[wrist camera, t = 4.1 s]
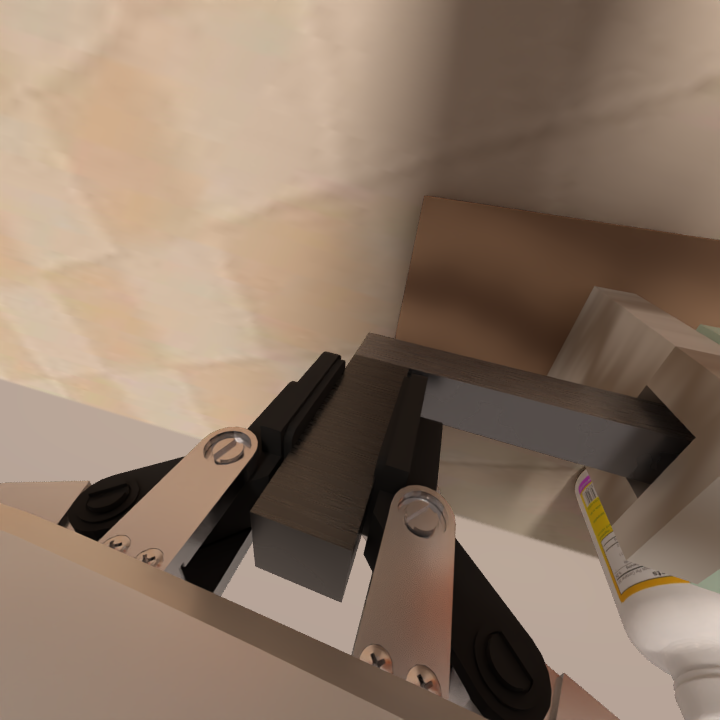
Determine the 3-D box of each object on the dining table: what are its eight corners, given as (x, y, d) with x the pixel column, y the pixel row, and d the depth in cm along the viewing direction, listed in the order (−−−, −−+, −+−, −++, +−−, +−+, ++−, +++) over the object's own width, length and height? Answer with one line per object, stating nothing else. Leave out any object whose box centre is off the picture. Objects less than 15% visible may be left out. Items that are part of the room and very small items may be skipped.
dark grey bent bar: (369, 332, 13) (249, 511, 6) (846, 448, 10) (1855, 1132, 3) (363, 372, 14) (255, 566, 7) (793, 488, 11) (1422, 1058, 4)
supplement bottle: (676, 519, 23) (865, 811, 12) (571, 511, 25) (651, 750, 15) (691, 450, 20) (951, 748, 9) (573, 450, 23) (671, 685, 12)
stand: (426, 195, 18) (369, 203, 7) (858, 261, 14) (2064, 478, 3) (390, 368, 24) (330, 510, 13) (684, 446, 20) (926, 728, 10)
